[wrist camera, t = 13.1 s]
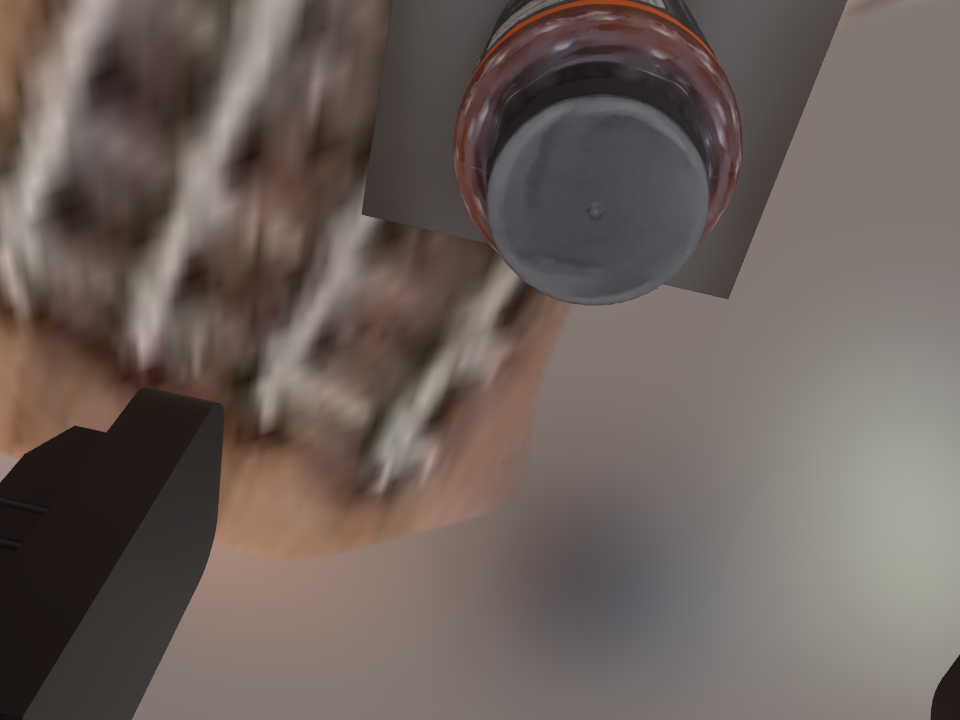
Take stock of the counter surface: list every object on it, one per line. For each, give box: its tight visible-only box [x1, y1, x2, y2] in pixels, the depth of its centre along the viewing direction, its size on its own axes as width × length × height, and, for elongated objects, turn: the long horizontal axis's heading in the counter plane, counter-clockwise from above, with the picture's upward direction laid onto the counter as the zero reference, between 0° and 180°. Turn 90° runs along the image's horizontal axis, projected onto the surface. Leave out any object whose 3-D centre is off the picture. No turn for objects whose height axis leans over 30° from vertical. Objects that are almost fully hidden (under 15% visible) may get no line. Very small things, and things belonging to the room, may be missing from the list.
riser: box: [362, 0, 847, 299], centre depth 28 cm, size 12×12×4 cm
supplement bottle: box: [453, 0, 743, 305], centre depth 21 cm, size 6×6×11 cm
